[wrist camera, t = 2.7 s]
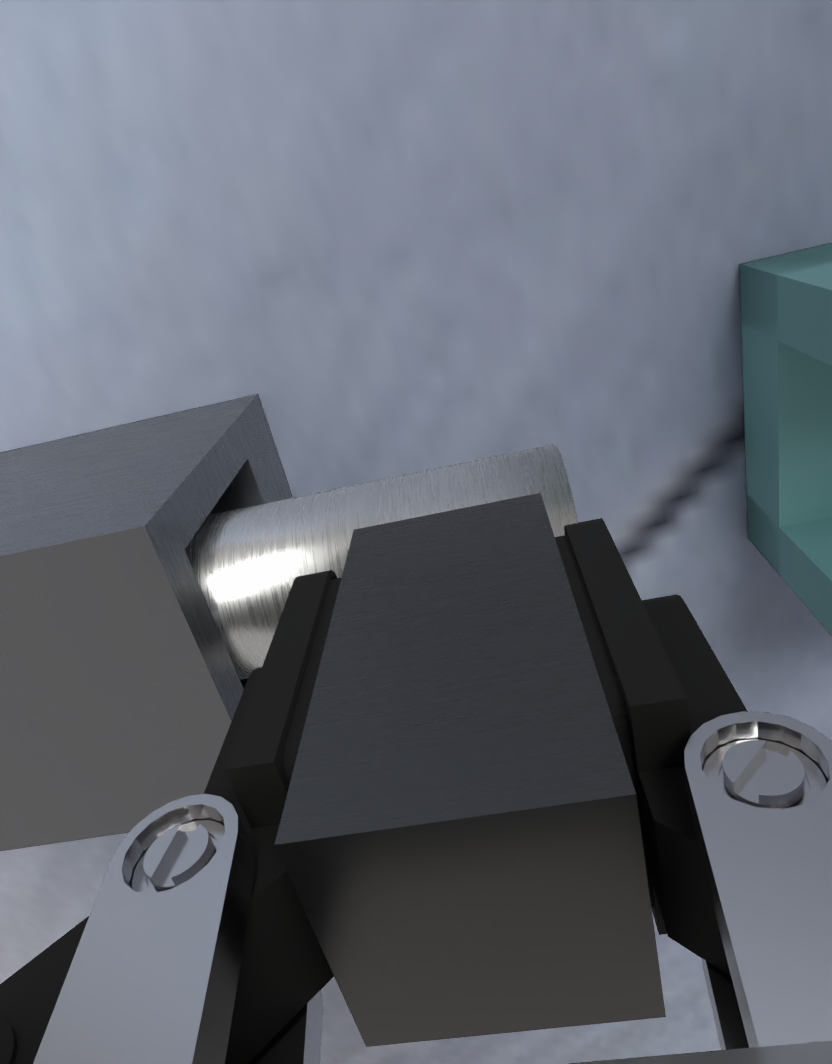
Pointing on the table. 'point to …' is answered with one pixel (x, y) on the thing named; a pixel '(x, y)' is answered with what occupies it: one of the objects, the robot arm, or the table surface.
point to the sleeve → (117, 618)
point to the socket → (790, 418)
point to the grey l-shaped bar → (449, 753)
